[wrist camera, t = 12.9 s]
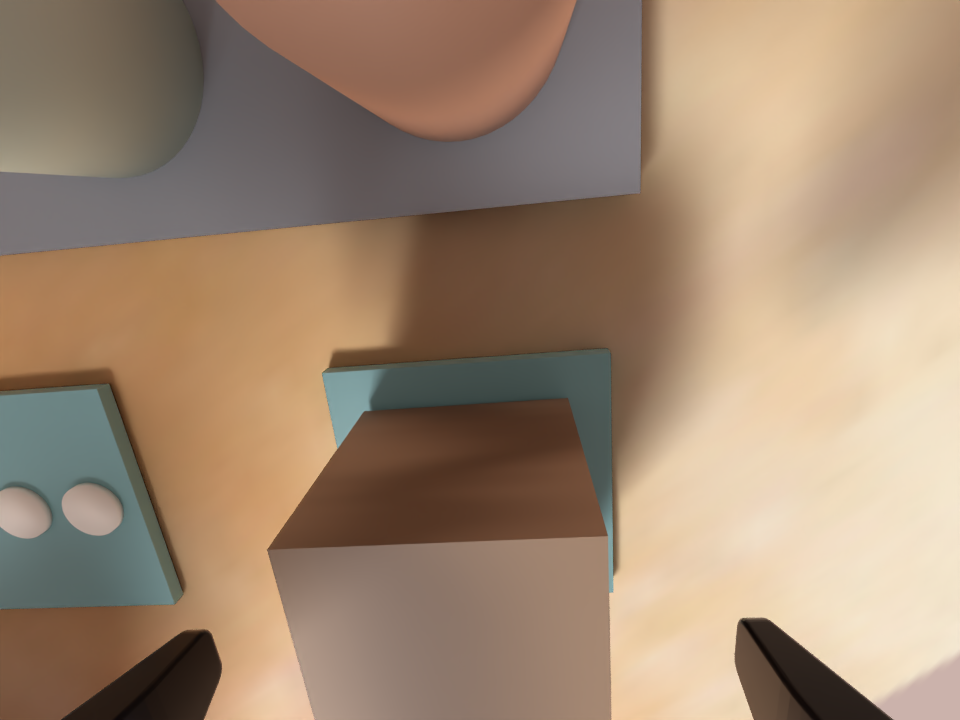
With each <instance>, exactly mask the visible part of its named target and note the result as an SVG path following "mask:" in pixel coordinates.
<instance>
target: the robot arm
mask: <svg viewBox="0 0 960 720" xmlns="http://www.w3.org/2000/svg"><path fill="white" fill-rule="evenodd" d="M735 665H736V669H737V673H738V676H739V679H740V682H741V685H742V687H743V690H744V693H745V696H746V699H747V702H748V705H749V707H750V710H751V713H752V716H753V719H754V720H893V719H892V718H891V717H890V716H888V715H887V714H886V713H885V712H883V711H882V710H881V709H880V708H878V707H877V706H876V705H875V704H873V703H872V702H871V701H870V700H868V699H867V698H866V697H865V696H863V695H862V694H861V693H860V692H858V691H857V690H856V689H855V688H853V687H852V686H851V685H850V684H849V683H847V682H846V681H845V680H844V679H842V678H841V677H840V676H839V675H837V674H836V673H835V672H834V671H832V670H831V669H830V668H829V667H827V666H826V665H825V664H824V663H822V662H821V661H820V660H819V659H817V658H816V657H815V656H814V655H813V654H811V653H810V652H809V651H808V650H806V649H805V648H804V647H803V646H801V645H800V644H799V643H798V642H796V641H795V640H794V639H793V638H791V637H790V636H789V635H788V634H786V633H785V632H784V631H783V630H781V629H780V628H779V627H778V626H776V625H775V624H774V623H773V622H771V621H770V620H768V619H766V618H742V619H740V620H739V622H738V625H737V635H736V646H735ZM221 672H222V663H221V660H220V657H219V654H218V651H217V648H216V645H215V642H214V639H213V636H212V634H211V633H210V632H209V631H208V630H186V631H183V632H182V633H180V634H178V635H177V636H176V637H174V638H173V639H172V640H170V641H169V642H167V643H166V644H165V645H163V646H162V647H161V648H159V649H158V650H156V651H155V652H154V653H152V654H151V655H150V656H148V657H147V658H145V659H144V660H143V661H141V662H140V663H138V664H137V665H136V666H134V667H133V668H132V669H130V670H129V671H127V672H126V673H125V674H123V675H122V676H121V677H119V678H118V679H116V680H115V681H114V682H112V683H111V684H110V685H108V686H107V687H105V688H104V689H103V690H101V691H100V692H99V693H97V694H96V695H94V696H93V697H92V698H90V699H89V700H88V701H86V702H85V703H83V704H82V705H81V706H79V707H78V708H76V709H75V710H74V711H72V712H71V713H70V714H68V715H67V716H65V717H64V718H63V719H61V720H204V718H205V716H206V713H207V711H208V708H209V706H210V703H211V701H212V698H213V696H214V693H215V690H216V688H217V685H218V683H219V680H220V677H221Z"/></svg>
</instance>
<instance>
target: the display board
mask: <svg viewBox="0 0 960 720" xmlns="http://www.w3.org/2000/svg"><path fill="white" fill-rule="evenodd" d="M641 60H642V0H0V256H1V255H11V254H21V253H31V252H42V251H52V250H62V249H72V248H83V247H93V246H103V245H114V244H124V243H134V242H144V241H155V240H165V239H175V238H185V237H196V236H206V235H216V234H226V233H237V232H247V231H257V230H267V229H278V228H288V227H298V226H309V225H319V224H329V223H339V222H350V221H360V220H370V219H380V218H391V217H401V216H411V215H421V214H432V213H442V212H452V211H463V210H473V209H483V208H493V207H504V206H514V205H524V204H534V203H545V202H555V201H565V200H575V199H586V198H596V197H606V196H616V195H627V194H637V193H640V181H641Z"/></svg>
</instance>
